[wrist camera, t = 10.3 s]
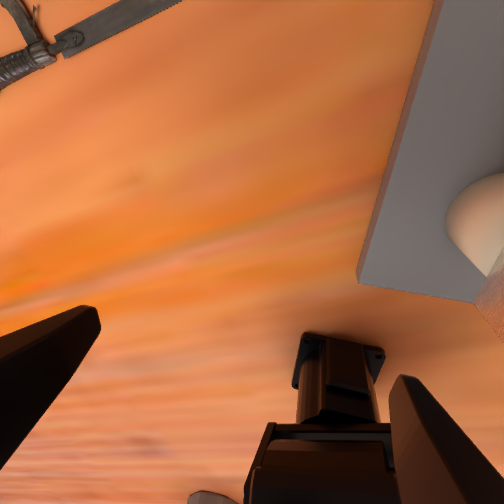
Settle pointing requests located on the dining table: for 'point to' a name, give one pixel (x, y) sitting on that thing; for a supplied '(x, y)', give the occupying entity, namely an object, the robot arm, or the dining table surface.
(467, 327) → the dining table surface
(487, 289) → the spanner
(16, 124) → the dining table surface
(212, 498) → the coffeepot
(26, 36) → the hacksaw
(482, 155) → the tool rack
